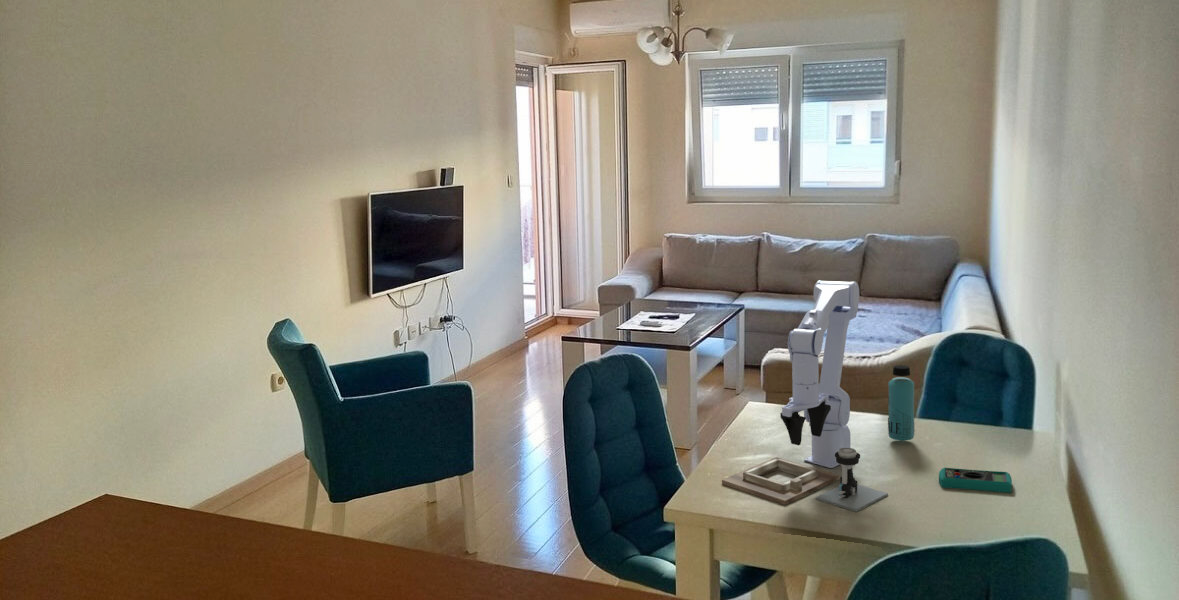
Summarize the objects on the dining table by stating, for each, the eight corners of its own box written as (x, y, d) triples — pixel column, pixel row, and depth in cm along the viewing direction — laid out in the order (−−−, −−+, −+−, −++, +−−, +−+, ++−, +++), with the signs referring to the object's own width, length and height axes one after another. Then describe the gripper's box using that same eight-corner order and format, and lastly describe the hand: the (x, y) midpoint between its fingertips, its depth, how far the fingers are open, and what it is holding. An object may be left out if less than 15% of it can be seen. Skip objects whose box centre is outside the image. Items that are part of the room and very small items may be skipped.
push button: (851, 502, 195) (851, 458, 193) (828, 497, 199) (827, 453, 197) (864, 492, 200) (864, 449, 198) (841, 487, 204) (841, 444, 202)
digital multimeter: (938, 477, 209) (939, 465, 208) (1010, 483, 204) (1010, 470, 203) (938, 489, 202) (938, 477, 202) (1012, 495, 197) (1012, 482, 196)
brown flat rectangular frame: (776, 460, 223) (776, 449, 223) (839, 479, 210) (839, 466, 209) (722, 483, 211) (721, 471, 210) (785, 505, 197) (785, 491, 197)
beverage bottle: (917, 440, 233) (918, 363, 229) (911, 448, 227) (911, 370, 224) (891, 436, 236) (891, 361, 233) (884, 444, 231) (884, 367, 227)
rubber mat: (848, 483, 207) (848, 481, 207) (887, 495, 199) (887, 493, 199) (816, 499, 199) (816, 497, 199) (856, 511, 192) (856, 509, 192)
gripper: (810, 372, 212) (810, 428, 214) (770, 385, 203) (771, 444, 205) (836, 377, 206) (836, 434, 209) (796, 391, 197) (797, 451, 200)
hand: (806, 439), depth 206 cm, fingers open, 7 cm apart
